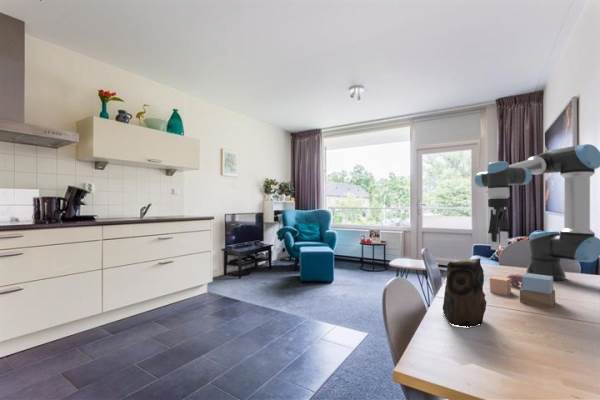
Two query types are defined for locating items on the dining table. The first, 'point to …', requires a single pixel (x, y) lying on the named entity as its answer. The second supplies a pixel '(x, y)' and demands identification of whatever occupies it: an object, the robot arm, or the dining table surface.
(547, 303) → the walnut base
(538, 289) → the slate block
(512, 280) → the video game controller
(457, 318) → the owl
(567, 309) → the dining table surface
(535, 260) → the robot arm
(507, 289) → the terracotta cube
